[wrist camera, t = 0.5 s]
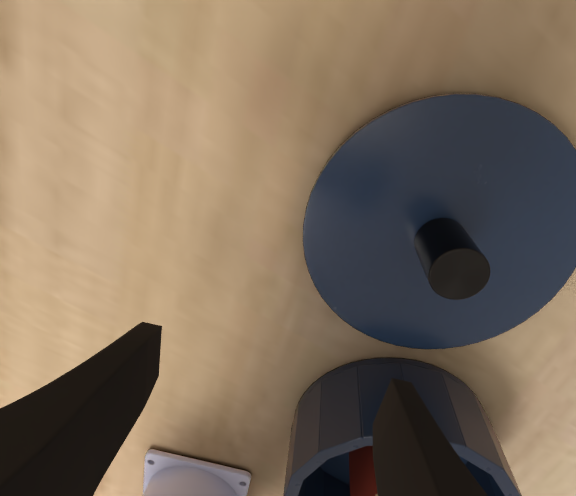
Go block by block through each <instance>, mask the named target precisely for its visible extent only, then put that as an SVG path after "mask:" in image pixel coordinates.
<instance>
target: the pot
mask: <svg viewBox="0 0 576 496" xmlns="http://www.w3.org/2000/svg"><path fill="white" fill-rule="evenodd" d="M392 378H395V379H399V380H404V381H408V382H412V384H413V385H414V387H415V389H416V390H417V392H418V394H419V395H420V397H421V398H422V400H423V402H424V403H425V405H426V407H427V408H428V410H429V411H430V413H431V415H432V416H433V418H434V420H435V421H436V423H437V424H438V426H439V427H440V429H441V431H442V432H443V434H444V435H445V437H446V438H447V440H448V441H449V443H450V444H451V446H452V447H453V449H454V450H455V452H456V453H457V455H458V456H459V457H460V459H461V460H462V462H463V463H464V464H465V466H466V467H467V468H468V470H469V471H470V473H471V474H472V475H473V477H474V478H475V479H476V481H477V482H478V483H479V485H480V486H481V487H482V488H483V490H484V491H485V492H486V494H487V495H488V496H522V495H521V493H520V490H519V488H518V486H517V483H516V481H515V479H514V476H513V474H512V472H511V469H510V467H509V465H508V462H507V460H506V458H505V455H504V453H503V450H502V448H501V446H500V443H499V441H498V439H497V436H496V434H495V432H494V429H493V427H492V425H491V422H490V420H489V418H488V416H487V415H486V413H485V411H484V410H483V408H482V406H481V404H480V402H479V400H478V398H477V397H476V396H475V394H474V393H473V391H472V390H471V389H470V388H469V387H468V386H467V385H466V384H465V383H463V382H462V381H461V380H459V379H458V378H457V377H455V376H454V375H452V374H450V373H448V372H446V371H445V370H443V369H440V368H438V367H435V366H433V365H430V364H427V363H423V362H420V361H415V360H409V359H401V358H375V359H367V360H361V361H357V362H353V363H350V364H347V365H344V366H341V367H339V368H336V369H334V370H332V371H330V372H328V373H327V374H325V375H324V376H322V377H321V378H319V379H318V380H317V381H316V382H314V383H313V384H312V385H311V386H310V387H309V388H308V390H307V391H306V392H305V393H304V394H303V396H302V398H301V399H300V401H299V403H298V406H297V408H296V411H295V416H294V421H293V425H292V428H291V436H290V444H289V453H288V461H287V470H286V478H285V487H284V495H283V496H350V476H349V452H351V451H354V450H356V449H359V448H362V447H365V446H373V422H374V420H375V417H376V415H377V412H378V410H379V408H380V405H381V403H382V400H383V398H384V396H385V393H386V391H387V388H388V386H389V383H390V381H391V379H392Z"/></svg>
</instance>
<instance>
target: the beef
mask: <svg viewBox="0 0 576 496" xmlns="http://www.w3.org/2000/svg"><path fill="white" fill-rule="evenodd" d="M349 476H350V496H378V494H377V486H376V478H375V470H374V462H373V446H365V447H362V448H359V449H356V450H354V451H351V452H349Z"/></svg>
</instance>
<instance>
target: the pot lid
mask: <svg viewBox="0 0 576 496" xmlns="http://www.w3.org/2000/svg"><path fill="white" fill-rule="evenodd" d="M303 247H304V255H305V260H306V264H307V267H308V271H309V273H310V276H311V278H312V280H313V283H314V285H315V287H316V288H317V290H318V292H319V293H320V295H321V297H322V298H323V299H324V301H325V302H326V303H327V304H328V305H329V307H330V308H331V309H332V310H333V311H334V312H335V313H336V314H337V315H338V316H339V317H340V318H341V319H343V320H344V321H345V322H347V323H348V324H349V325H351V326H352V327H354V328H355V329H357V330H359V331H361V332H362V333H364V334H366V335H368V336H370V337H373V338H375V339H378V340H380V341H383V342H386V343H390V344H393V345H397V346H403V347H408V348H417V349H446V348H453V347H461V346H465V345H470V344H474V343H478V342H481V341H484V340H487V339H490V338H493V337H495V336H497V335H499V334H502V333H504V332H506V331H508V330H510V329H512V328H514V327H515V326H517V325H519V324H521V323H522V322H524V321H525V320H527V319H528V318H530V317H531V316H532V315H534V314H535V313H537V312H538V311H539V310H540V309H541V308H542V307H544V306H545V305H546V304H547V303H548V302H549V301H550V300H551V299H552V298H553V297H554V296H555V295H556V294H557V293H558V292H559V290H560V289H561V288H562V287H563V286H564V284H565V283H566V282H567V280H568V279H569V277H570V276H571V274H572V273H573V271H574V270H575V268H576V149H575V148H574V147H573V145H572V144H571V142H570V141H569V140H568V138H567V137H566V136H565V135H564V134H563V133H562V132H561V131H560V130H559V129H558V128H557V127H556V126H555V125H554V124H553V123H551V122H550V121H548V120H547V119H546V118H544V117H543V116H541V115H540V114H538V113H537V112H535V111H533V110H531V109H529V108H527V107H524V106H522V105H520V104H518V103H515V102H512V101H508V100H505V99H502V98H498V97H494V96H487V95H481V94H470V93H451V94H443V95H435V96H429V97H425V98H421V99H418V100H414V101H410V102H407V103H405V104H402V105H400V106H397V107H395V108H392V109H390V110H388V111H386V112H385V113H383V114H381V115H379V116H377V117H375V118H374V119H372V120H370V121H369V122H368V123H366V124H365V125H364V126H362V127H361V128H359V129H358V130H357V131H355V132H354V133H353V134H352V135H351V136H350V137H349V138H348V139H347V140H346V141H345V142H343V143H342V144H341V145H340V147H339V148H338V149H337V150H336V151H335V153H334V154H333V155H332V156H331V157H330V159H329V160H328V161H327V163H326V165H325V166H324V168H323V169H322V171H321V172H320V174H319V176H318V178H317V180H316V182H315V184H314V186H313V189H312V191H311V194H310V197H309V200H308V204H307V207H306V212H305V218H304V224H303Z"/></svg>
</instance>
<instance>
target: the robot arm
mask: <svg viewBox="0 0 576 496" xmlns="http://www.w3.org/2000/svg"><path fill="white" fill-rule="evenodd" d="M161 330H162V326H158V325H154V324H150V323H145V322H142V323H140V324H138V325H137V326H135V327H134V328H133V329H131V330H130V331H128V332H127V333H126V334H124V335H123V336H121V337H120V338H119V339H117V340H116V341H114V342H113V343H111V344H110V345H109V346H107V347H106V348H104V349H103V350H101V351H100V352H98V353H97V354H95V355H94V356H92V357H91V358H89V359H88V360H86V361H85V362H83V363H82V364H80V365H79V366H77V367H75V368H74V369H72V370H70V371H69V372H67V373H66V374H64V375H62V376H61V377H59V378H57V379H56V380H54V381H52V382H51V383H49V384H47V385H45V386H43V387H42V388H40V389H38V390H36V391H34V392H33V393H31V394H29V395H27V396H25V397H23V398H21V399H19V400H17V401H15V402H13V403H11V404H9V405H7V406H5V407H2V408H0V496H93V494H94V492H95V490H96V489H97V487H98V485H99V483H100V481H101V480H102V478H103V476H104V474H105V472H106V471H107V469H108V467H109V466H110V464H111V462H112V461H113V459H114V457H115V456H116V454H117V452H118V451H119V449H120V447H121V446H122V444H123V442H124V441H125V439H126V437H127V436H128V434H129V432H130V431H131V429H132V427H133V426H134V424H135V422H136V421H137V419H138V417H139V416H140V414H141V412H142V410H143V409H144V407H145V405H146V403H147V401H148V399H149V396H150V394H151V392H152V390H153V387H154V385H155V383H156V381H157V378H158V376H159V362H160V346H161ZM373 462H374V470H375V478H376V486H377V494H378V496H488V495H487V494H486V492H485V491H484V490H483V488H482V487H481V486H480V485H479V483H478V482H477V481H476V479H475V478H474V477H473V475H472V474H471V473H470V471H469V470H468V468H467V467H466V466H465V464H464V463H463V462H462V460H461V459H460V457H459V456H458V455H457V453H456V452H455V450H454V449H453V447H452V446H451V444H450V443H449V441H448V440H447V438H446V437H445V435H444V434H443V432H442V431H441V429H440V427H439V426H438V424H437V423H436V421H435V420H434V418H433V416H432V415H431V413H430V411H429V410H428V408H427V407H426V405H425V403H424V402H423V400H422V398H421V397H420V395H419V394H418V392H417V390H416V389H415V387H414V385H413V384H412V382H408V381H404V380H399V379H395V378H392V379H391V381H390V383H389V386H388V388H387V391H386V393H385V396H384V398H383V400H382V403H381V405H380V408H379V410H378V412H377V415H376V417H375V420H374V422H373ZM250 481H251V474H250V473H249V472H247V471H244V470H240V469H236V468H231V467H227V466H223V465H219V464H214V463H210V462H206V461H202V460H197V459H193V458H189V457H184V456H180V455H176V454H172V453H167V452H163V451H159V450H154V449H150V450H148V451H147V453H146V455H145V466H144V484H143V496H247V493H248V489H249V485H250Z"/></svg>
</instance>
